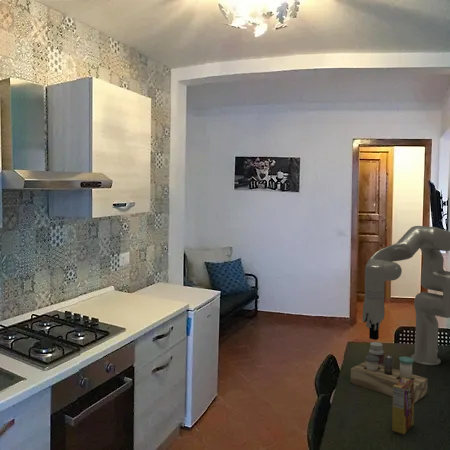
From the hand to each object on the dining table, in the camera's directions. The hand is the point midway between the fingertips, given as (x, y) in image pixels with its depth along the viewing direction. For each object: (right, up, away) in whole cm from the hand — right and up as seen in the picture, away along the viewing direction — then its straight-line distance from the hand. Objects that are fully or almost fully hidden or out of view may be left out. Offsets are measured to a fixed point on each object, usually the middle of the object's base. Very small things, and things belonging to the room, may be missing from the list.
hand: (373, 338), depth 194 cm
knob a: (-1, -16, +1) cm, 16 cm away
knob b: (+9, -13, -9) cm, 19 cm away
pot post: (+4, -13, -4) cm, 14 cm away
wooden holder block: (+4, -19, -4) cm, 19 cm away
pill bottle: (+6, -17, +16) cm, 24 cm away
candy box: (-1, -21, -35) cm, 41 cm away
